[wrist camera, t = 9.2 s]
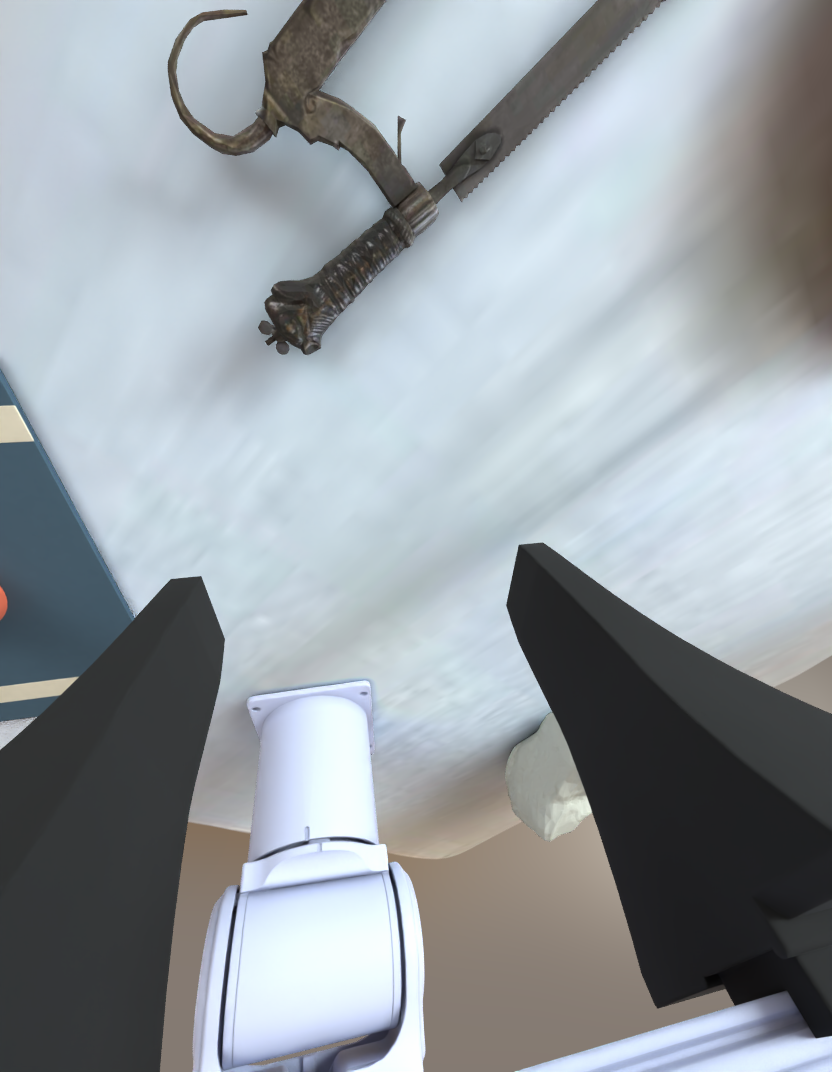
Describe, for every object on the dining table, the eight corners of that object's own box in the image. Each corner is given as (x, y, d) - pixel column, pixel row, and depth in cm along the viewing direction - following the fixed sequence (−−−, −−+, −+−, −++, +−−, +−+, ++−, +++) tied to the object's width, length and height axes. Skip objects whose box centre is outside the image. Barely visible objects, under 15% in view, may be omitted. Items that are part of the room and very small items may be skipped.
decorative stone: (594, 777, 43) (576, 887, 35) (511, 725, 45) (478, 818, 37) (660, 726, 36) (657, 848, 28) (560, 667, 38) (531, 765, 30)
